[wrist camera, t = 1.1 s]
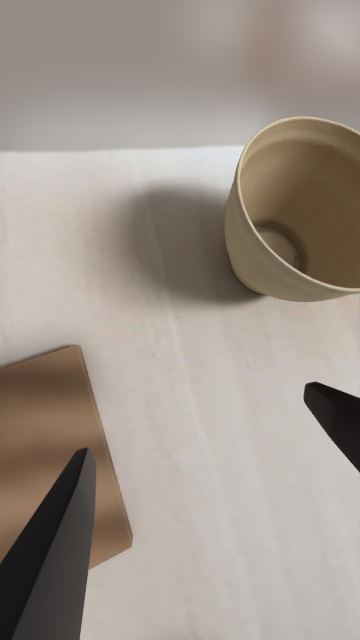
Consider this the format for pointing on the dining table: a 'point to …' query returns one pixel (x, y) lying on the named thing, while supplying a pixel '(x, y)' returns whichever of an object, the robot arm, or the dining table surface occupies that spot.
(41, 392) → the walnut serving board
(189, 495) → the dining table surface
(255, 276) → the planter bowl
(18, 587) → the robot arm
